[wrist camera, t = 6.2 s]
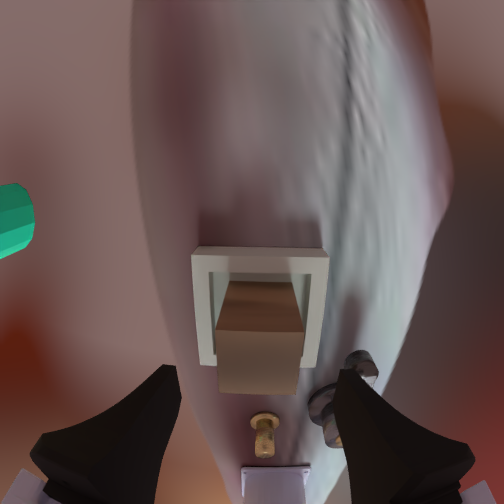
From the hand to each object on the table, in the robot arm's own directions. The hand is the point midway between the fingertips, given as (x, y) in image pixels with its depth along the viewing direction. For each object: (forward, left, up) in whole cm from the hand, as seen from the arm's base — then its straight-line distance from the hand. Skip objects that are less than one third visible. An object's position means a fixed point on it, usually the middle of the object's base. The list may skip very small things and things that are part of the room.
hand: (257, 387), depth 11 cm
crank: (-7, -7, -7) cm, 12 cm away
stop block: (0, 0, -8) cm, 8 cm away
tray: (0, 0, -8) cm, 8 cm away
